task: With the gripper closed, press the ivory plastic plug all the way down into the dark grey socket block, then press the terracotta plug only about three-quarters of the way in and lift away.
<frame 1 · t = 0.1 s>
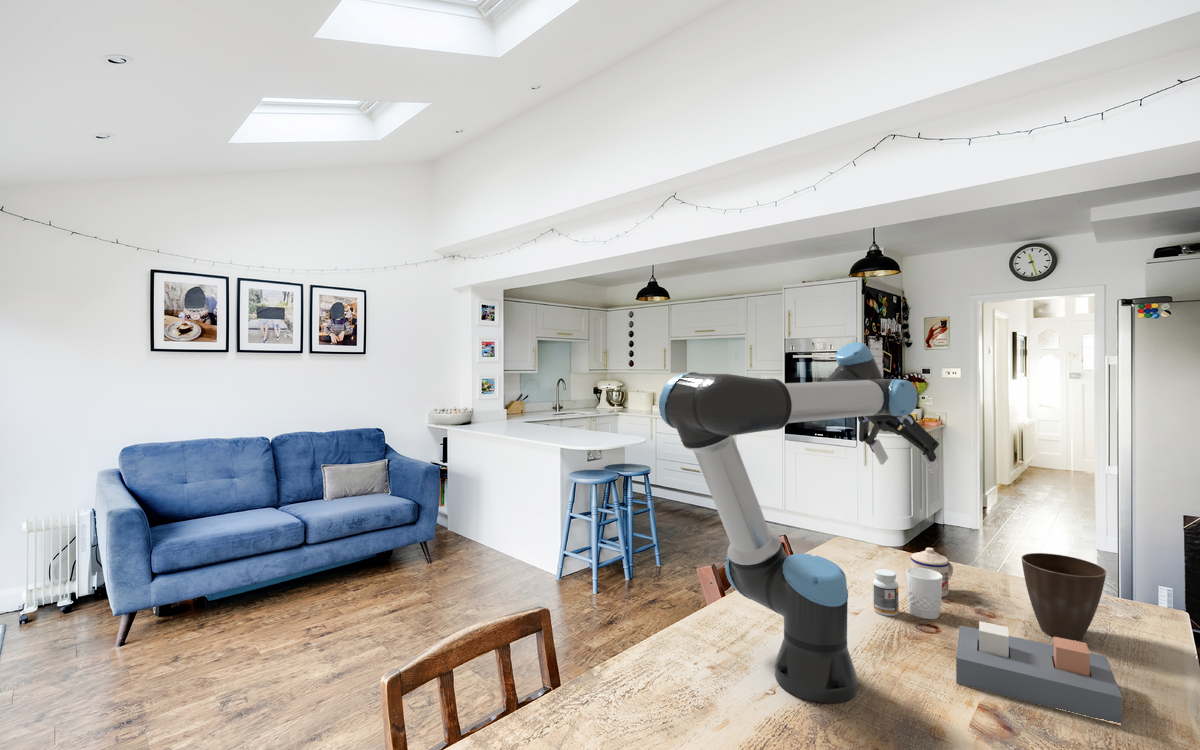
hand: (908, 465, 145), 36 cm above the table, tool tilted 35°, fingers open, 13 cm apart
pill bottle: (885, 612, 142), on the table
teacup with lid: (934, 591, 154), on the table
plant pot: (1061, 634, 130), on the table
white cup: (923, 614, 141), on the table
socket block: (1030, 682, 111), on the table
ivory plug: (993, 643, 114), point 6 cm above the table, slide at 0.0 cm
terracotta plug: (1071, 660, 107), point 6 cm above the table, slide at 0.0 cm
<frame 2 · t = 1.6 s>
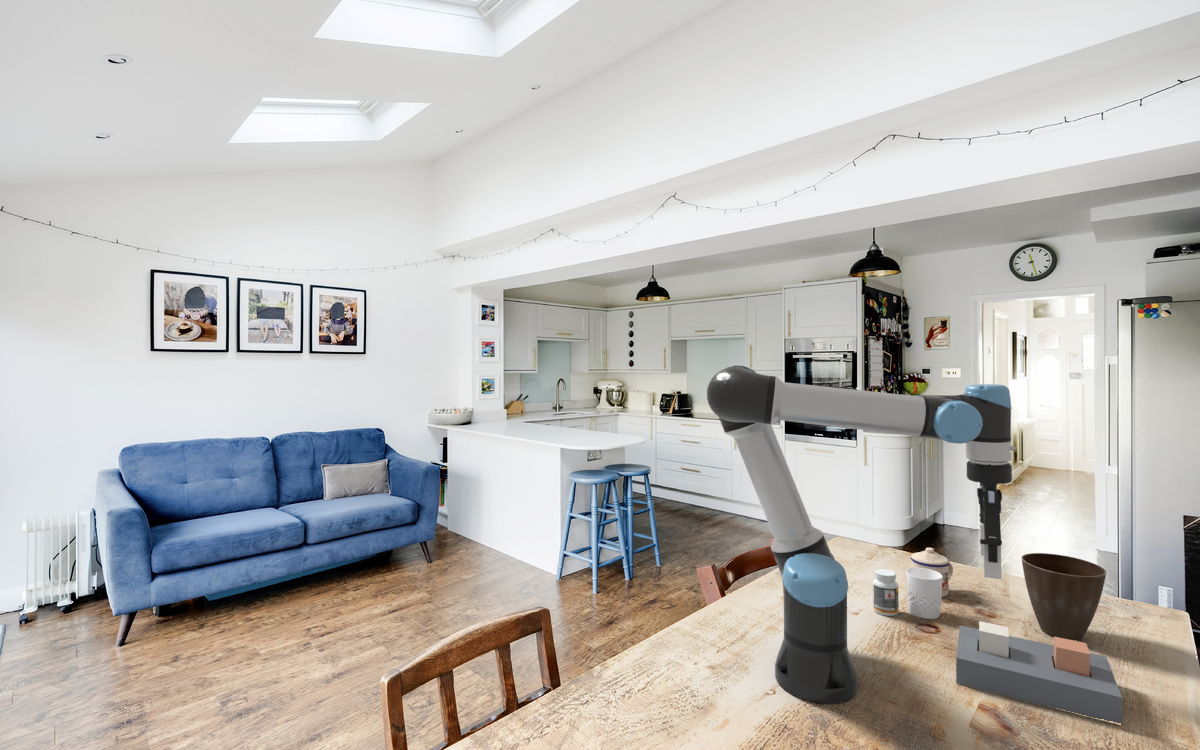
hand: (990, 566, 115), 21 cm above the table, tool pointing down, fingers open, 13 cm apart
nothing on the table moved.
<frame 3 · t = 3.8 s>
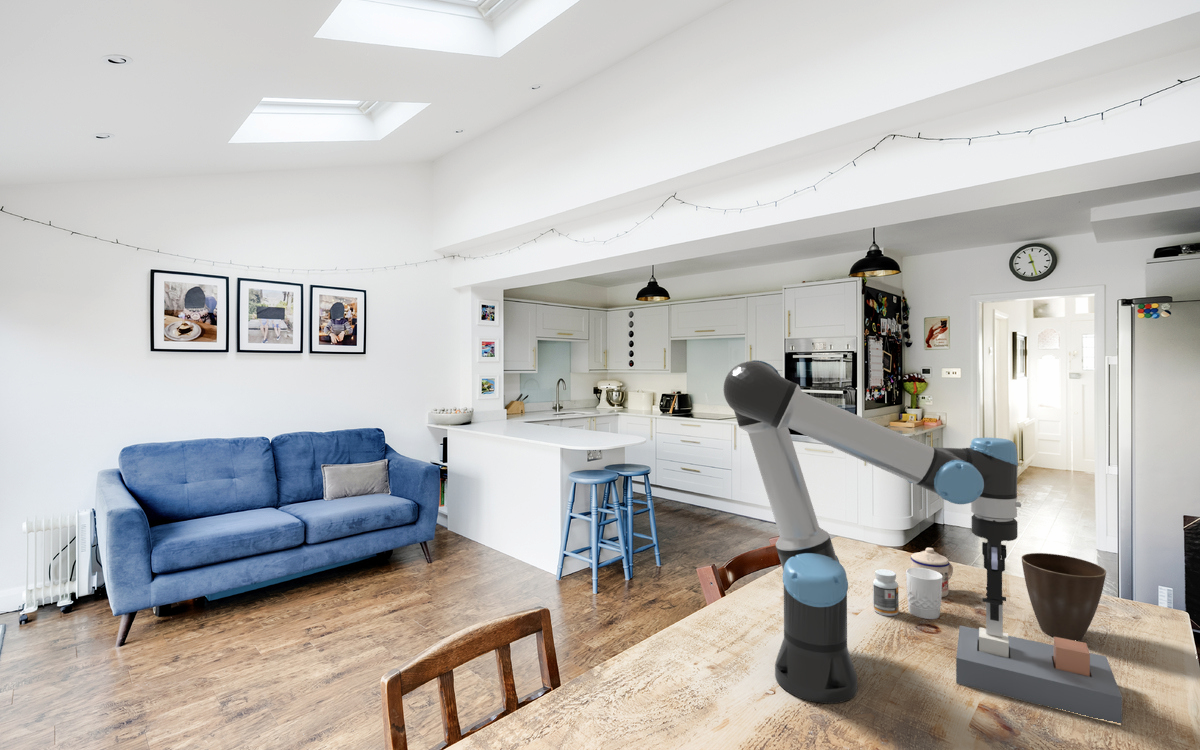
hand: (994, 633, 114), 8 cm above the table, tool pointing down, fingers closed
ivory plug: (993, 649, 114), point 5 cm above the table, slide at 1.3 cm, touching gripper
everything else where it was.
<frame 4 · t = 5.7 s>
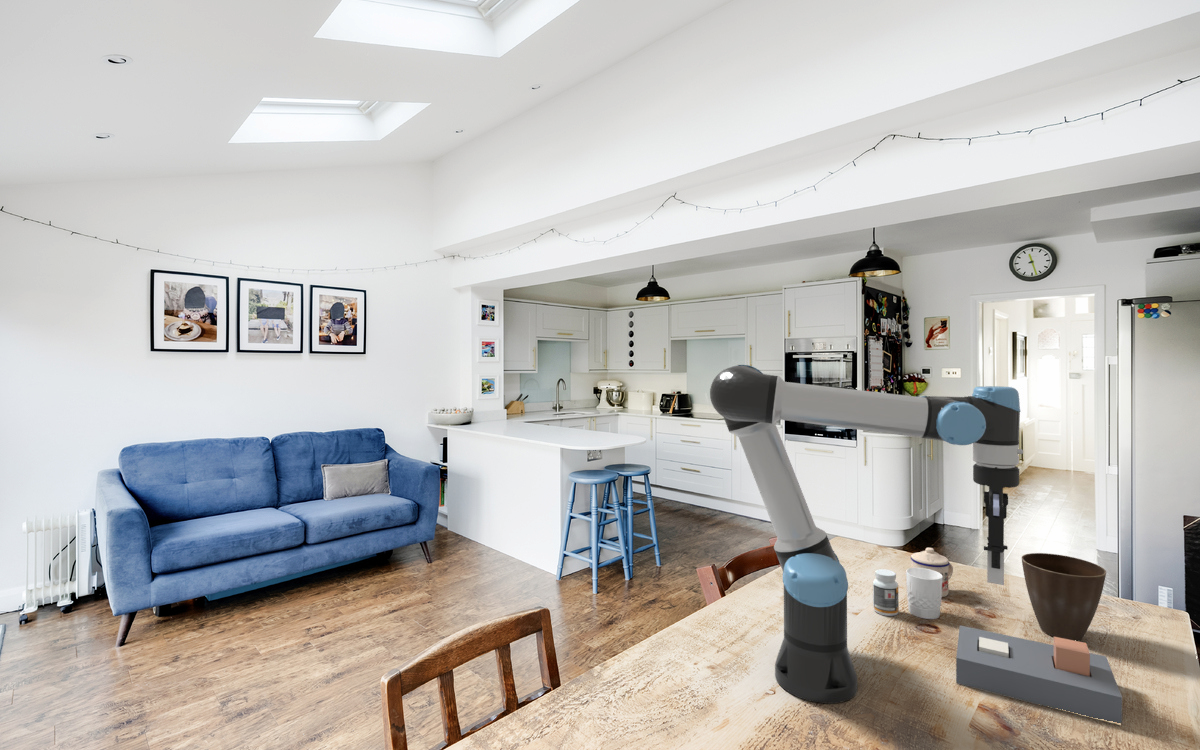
hand: (995, 582, 113), 18 cm above the table, tool pointing down, fingers closed
ivory plug: (993, 659, 114), point 3 cm above the table, slide at 3.2 cm
everything else where it was.
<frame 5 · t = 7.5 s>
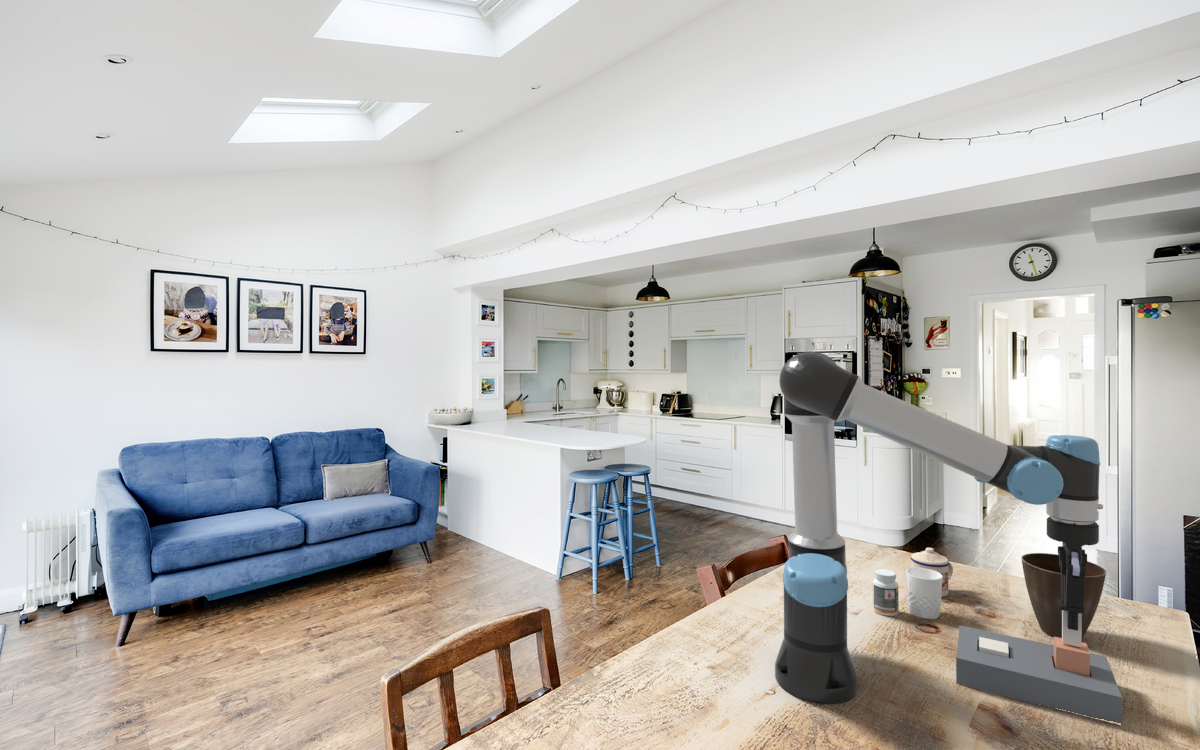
hand: (1071, 643, 107), 9 cm above the table, tool pointing down, fingers closed
terracotta plug: (1071, 660, 107), point 6 cm above the table, slide at 0.0 cm, touching gripper
everything else where it was.
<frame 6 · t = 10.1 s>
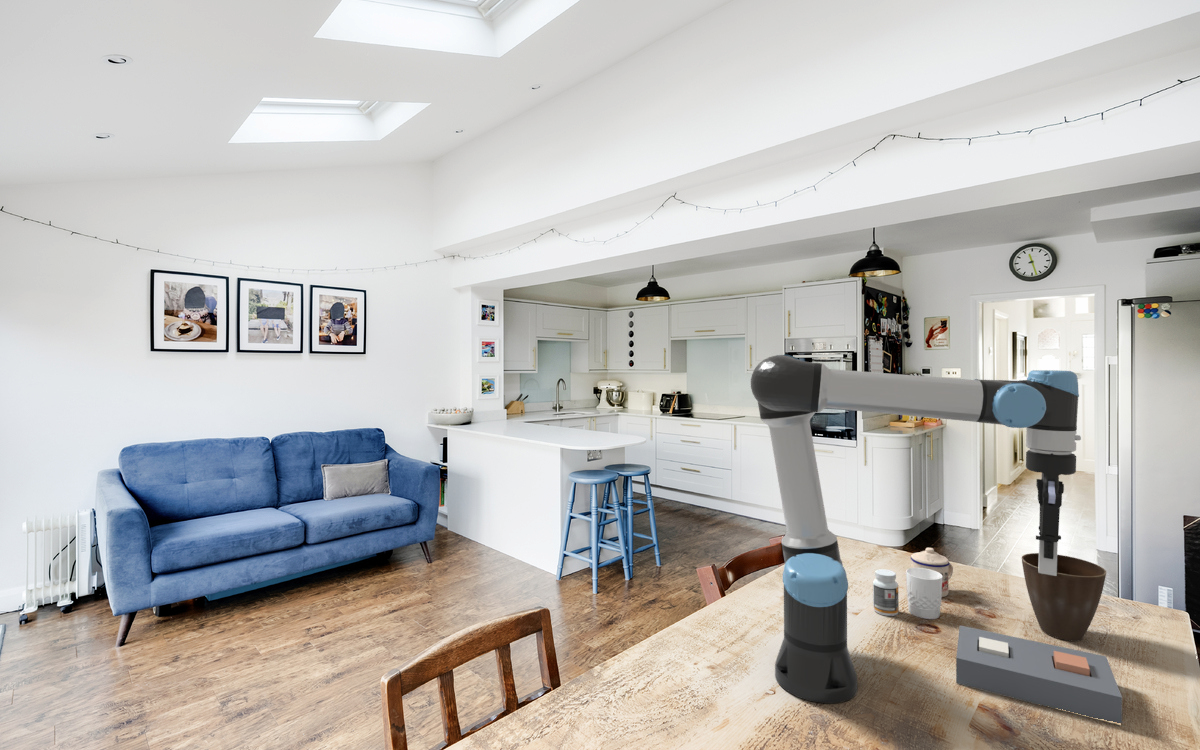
hand: (1047, 573, 110), 22 cm above the table, tool pointing down, fingers closed
terracotta plug: (1071, 674, 107), point 3 cm above the table, slide at 2.8 cm
everything else where it was.
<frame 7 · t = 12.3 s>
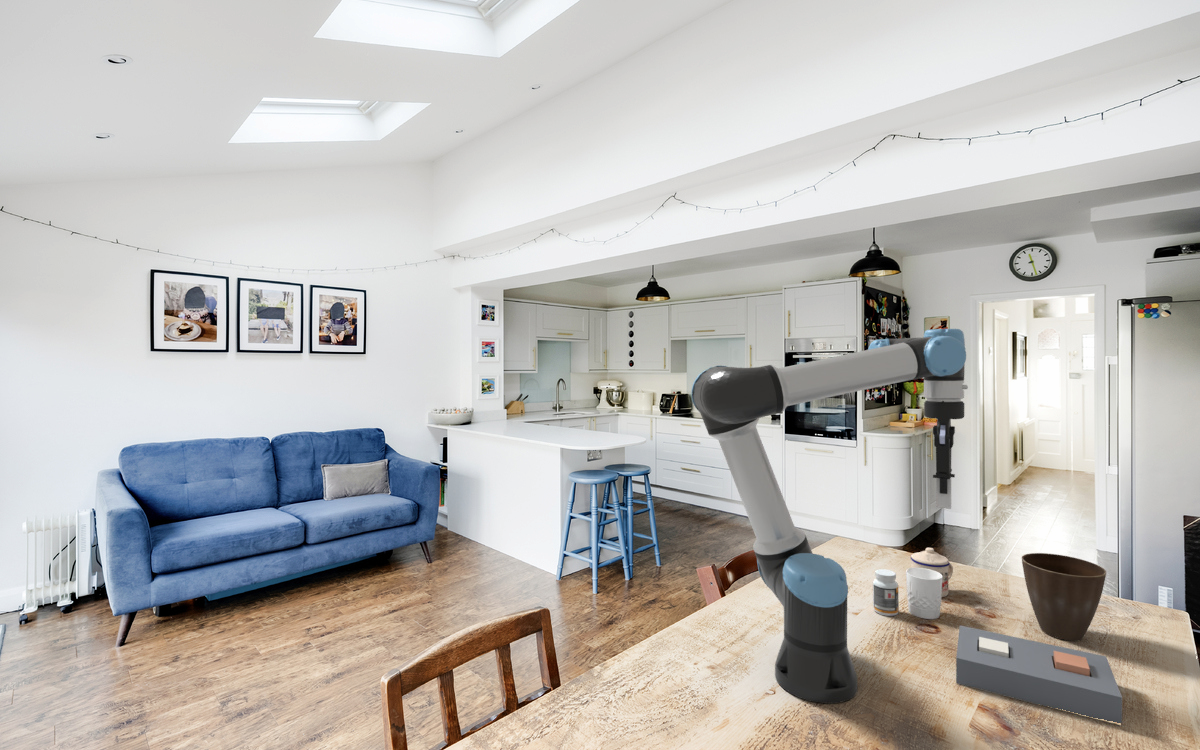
hand: (943, 507, 125), 30 cm above the table, tool pointing down, fingers closed
nothing on the table moved.
at the end: ivory plug slide at 3.2 cm; terracotta plug slide at 2.8 cm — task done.
